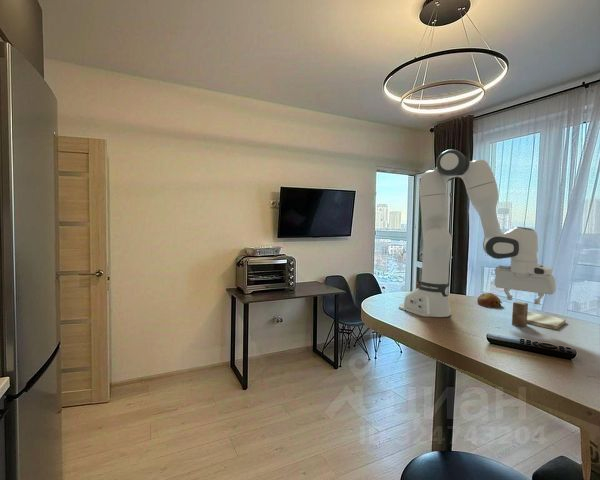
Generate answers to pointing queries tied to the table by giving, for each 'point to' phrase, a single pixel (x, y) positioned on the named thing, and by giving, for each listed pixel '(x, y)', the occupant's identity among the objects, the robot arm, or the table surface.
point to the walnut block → (519, 314)
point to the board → (545, 320)
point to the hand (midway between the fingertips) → (523, 301)
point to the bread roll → (489, 300)
